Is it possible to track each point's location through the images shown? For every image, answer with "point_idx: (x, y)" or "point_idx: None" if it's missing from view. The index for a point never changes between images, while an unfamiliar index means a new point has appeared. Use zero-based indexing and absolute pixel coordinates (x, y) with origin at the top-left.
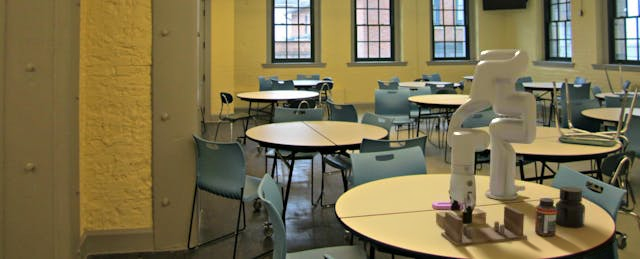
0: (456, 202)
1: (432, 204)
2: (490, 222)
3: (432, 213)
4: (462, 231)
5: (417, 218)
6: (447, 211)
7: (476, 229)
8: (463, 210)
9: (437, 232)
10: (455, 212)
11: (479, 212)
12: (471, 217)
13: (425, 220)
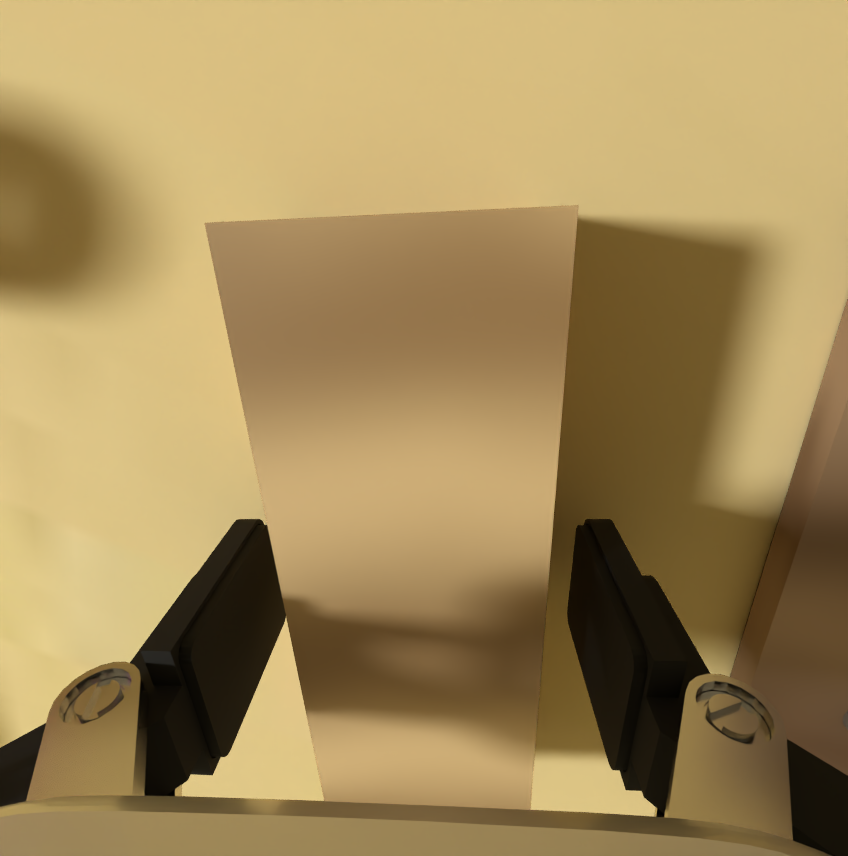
0: (146, 752)
1: None
2: (535, 104)
3: (58, 652)
4: (780, 704)
5: (217, 797)
6: (327, 771)
7: (817, 553)
8: (316, 577)
9: (613, 810)
10: (395, 714)
11: (512, 362)
12: (637, 580)
13: (281, 772)
